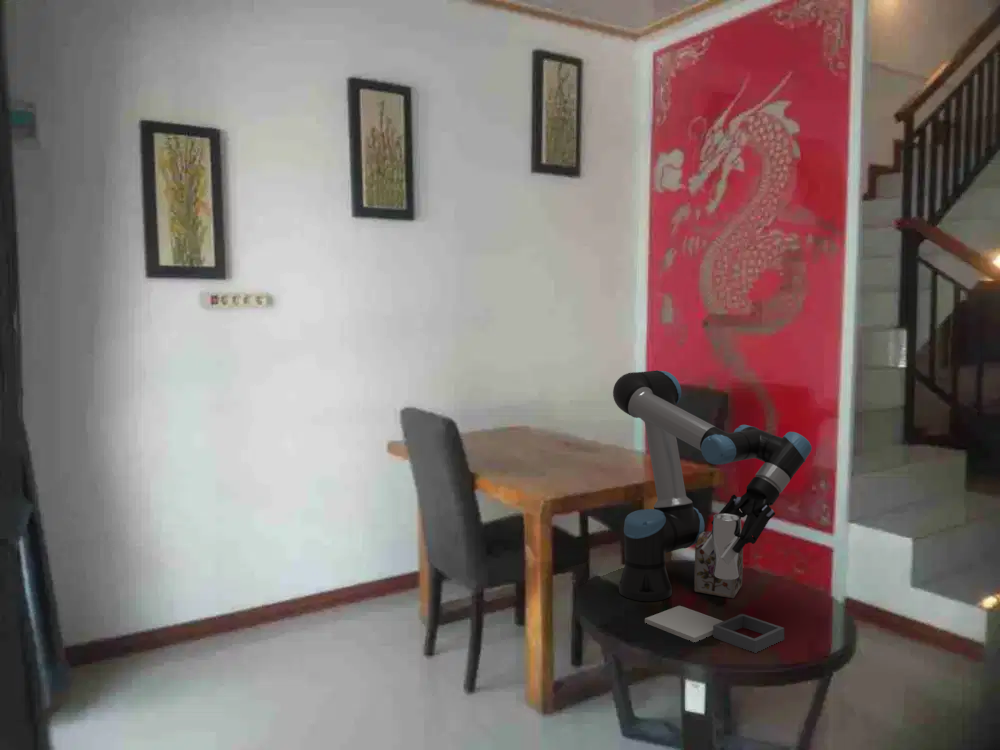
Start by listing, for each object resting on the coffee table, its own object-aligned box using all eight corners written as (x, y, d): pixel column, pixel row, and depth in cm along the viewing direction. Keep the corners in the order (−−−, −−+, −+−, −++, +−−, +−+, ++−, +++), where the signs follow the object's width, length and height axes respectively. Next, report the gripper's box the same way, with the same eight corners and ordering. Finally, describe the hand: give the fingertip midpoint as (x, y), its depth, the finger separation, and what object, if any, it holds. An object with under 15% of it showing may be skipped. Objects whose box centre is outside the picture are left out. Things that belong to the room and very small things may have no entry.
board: (644, 622, 195) (644, 618, 195) (679, 609, 203) (679, 605, 203) (694, 642, 182) (694, 637, 182) (729, 627, 191) (729, 623, 191)
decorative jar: (743, 586, 220) (744, 527, 219) (734, 599, 210) (736, 537, 209) (702, 579, 226) (704, 521, 225) (692, 591, 216) (694, 531, 215)
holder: (713, 637, 185) (713, 625, 185) (742, 625, 192) (742, 613, 192) (755, 653, 176) (755, 641, 175) (784, 639, 183) (784, 627, 183)
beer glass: (742, 581, 182) (744, 521, 181) (713, 579, 183) (714, 520, 182) (738, 571, 189) (739, 513, 187) (709, 570, 190) (710, 512, 188)
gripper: (804, 503, 181) (750, 578, 176) (748, 486, 199) (697, 553, 194) (788, 484, 179) (733, 559, 174) (732, 468, 197) (681, 536, 192)
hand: (714, 556), depth 184 cm, fingers closed on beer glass, 7 cm apart
